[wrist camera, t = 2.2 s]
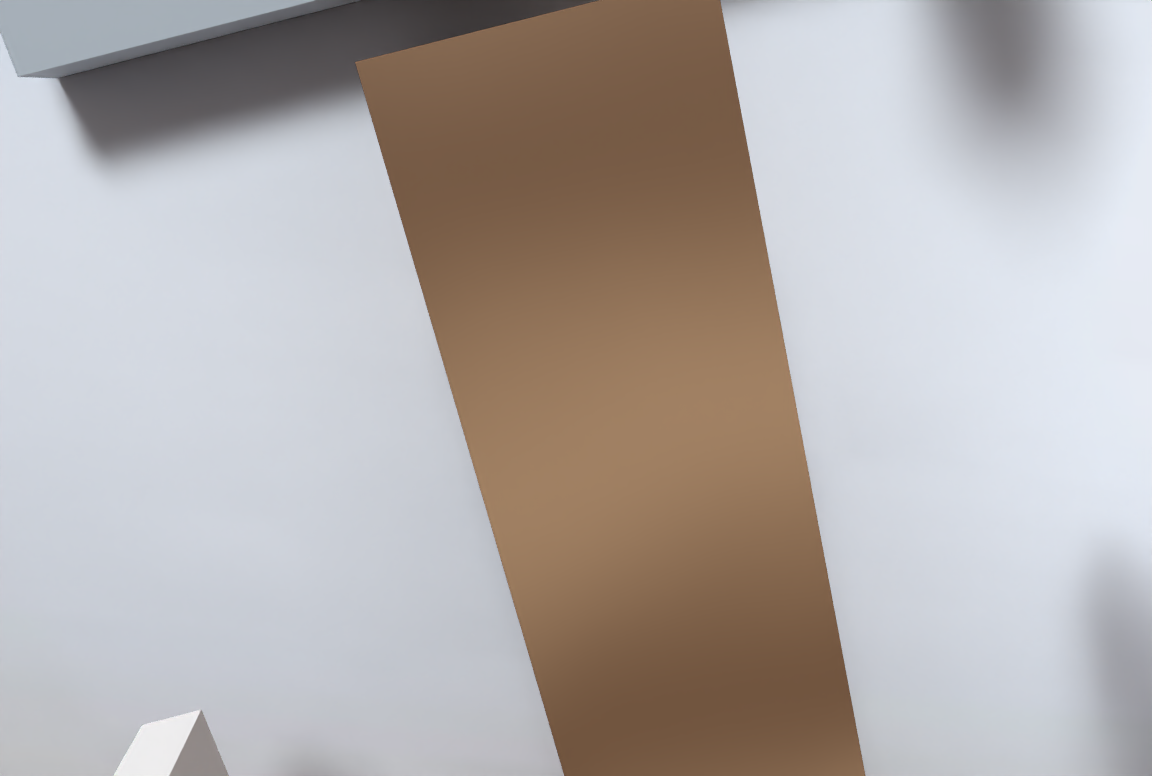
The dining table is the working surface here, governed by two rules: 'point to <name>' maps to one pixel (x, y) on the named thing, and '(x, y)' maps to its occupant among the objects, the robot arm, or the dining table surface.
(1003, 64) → the dining table surface
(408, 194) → the wooden toy mallet
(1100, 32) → the dining table surface
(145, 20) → the rack
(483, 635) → the dining table surface
